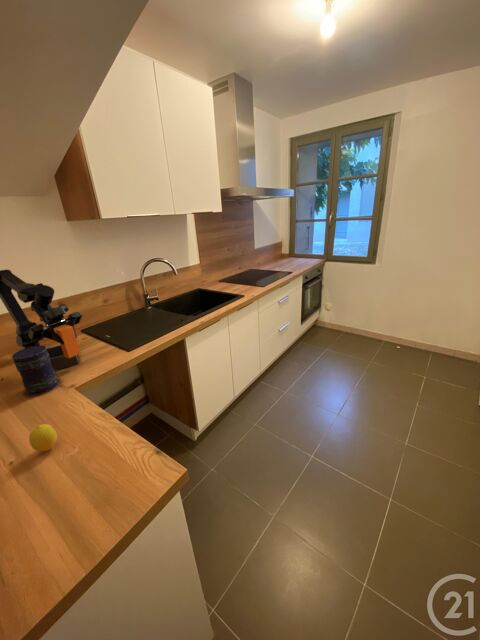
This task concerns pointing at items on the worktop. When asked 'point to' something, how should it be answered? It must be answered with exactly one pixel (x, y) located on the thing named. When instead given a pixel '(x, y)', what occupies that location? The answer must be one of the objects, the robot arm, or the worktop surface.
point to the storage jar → (35, 370)
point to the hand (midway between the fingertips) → (70, 341)
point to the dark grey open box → (60, 358)
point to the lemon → (42, 437)
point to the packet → (68, 341)
